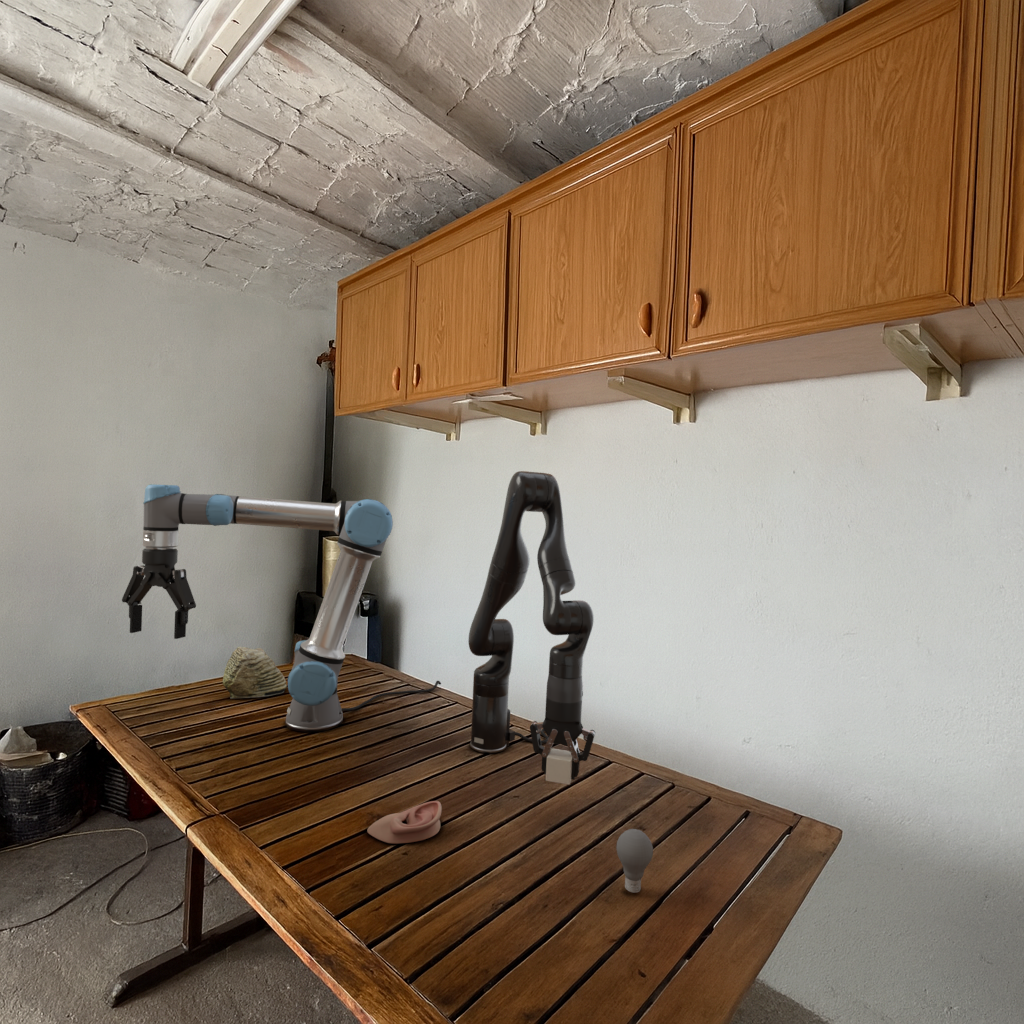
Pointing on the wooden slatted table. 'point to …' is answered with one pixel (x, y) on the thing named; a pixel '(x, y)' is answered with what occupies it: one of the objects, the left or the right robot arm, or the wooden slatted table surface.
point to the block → (559, 766)
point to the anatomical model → (408, 824)
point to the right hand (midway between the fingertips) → (560, 775)
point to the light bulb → (634, 857)
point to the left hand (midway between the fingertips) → (157, 634)
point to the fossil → (252, 674)
